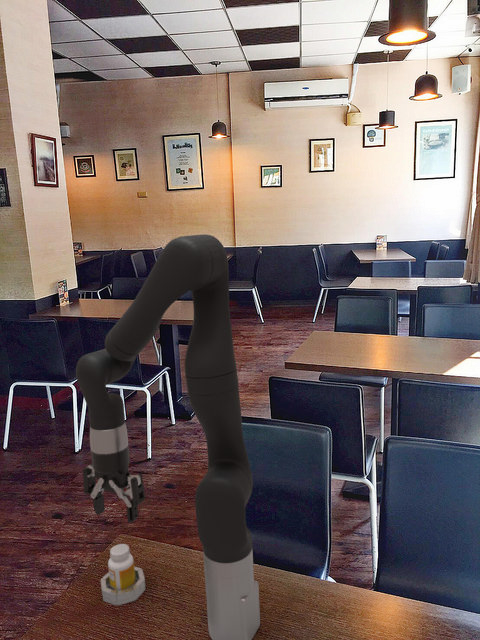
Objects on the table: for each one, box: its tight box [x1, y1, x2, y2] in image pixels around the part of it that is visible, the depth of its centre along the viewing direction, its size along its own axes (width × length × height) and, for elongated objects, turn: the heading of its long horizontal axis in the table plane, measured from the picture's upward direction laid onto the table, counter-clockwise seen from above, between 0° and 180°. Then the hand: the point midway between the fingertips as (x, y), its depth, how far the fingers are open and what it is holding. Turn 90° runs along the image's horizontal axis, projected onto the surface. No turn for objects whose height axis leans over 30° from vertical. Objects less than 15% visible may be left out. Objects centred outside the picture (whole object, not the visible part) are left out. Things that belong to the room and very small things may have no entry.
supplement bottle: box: [107, 543, 137, 591], centre depth 110 cm, size 5×5×10 cm
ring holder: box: [100, 565, 146, 607], centre depth 111 cm, size 9×9×2 cm
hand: (116, 516), depth 108 cm, fingers open, 8 cm apart
